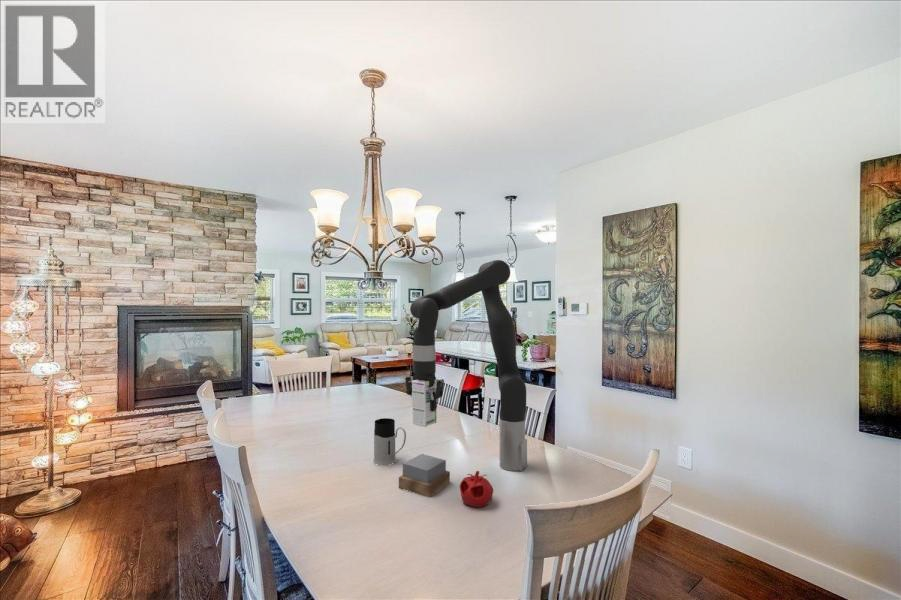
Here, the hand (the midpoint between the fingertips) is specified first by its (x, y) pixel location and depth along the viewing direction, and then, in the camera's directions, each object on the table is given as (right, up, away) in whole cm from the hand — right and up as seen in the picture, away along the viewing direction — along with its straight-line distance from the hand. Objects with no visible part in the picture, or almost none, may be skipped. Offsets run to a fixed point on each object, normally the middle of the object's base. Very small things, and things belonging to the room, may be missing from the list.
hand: (424, 409), depth 132 cm
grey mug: (-14, -25, +18) cm, 34 cm away
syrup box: (0, -5, 0) cm, 5 cm away
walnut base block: (0, -25, -1) cm, 25 cm away
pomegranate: (+16, -25, -12) cm, 32 cm away
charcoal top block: (0, -21, -1) cm, 21 cm away
